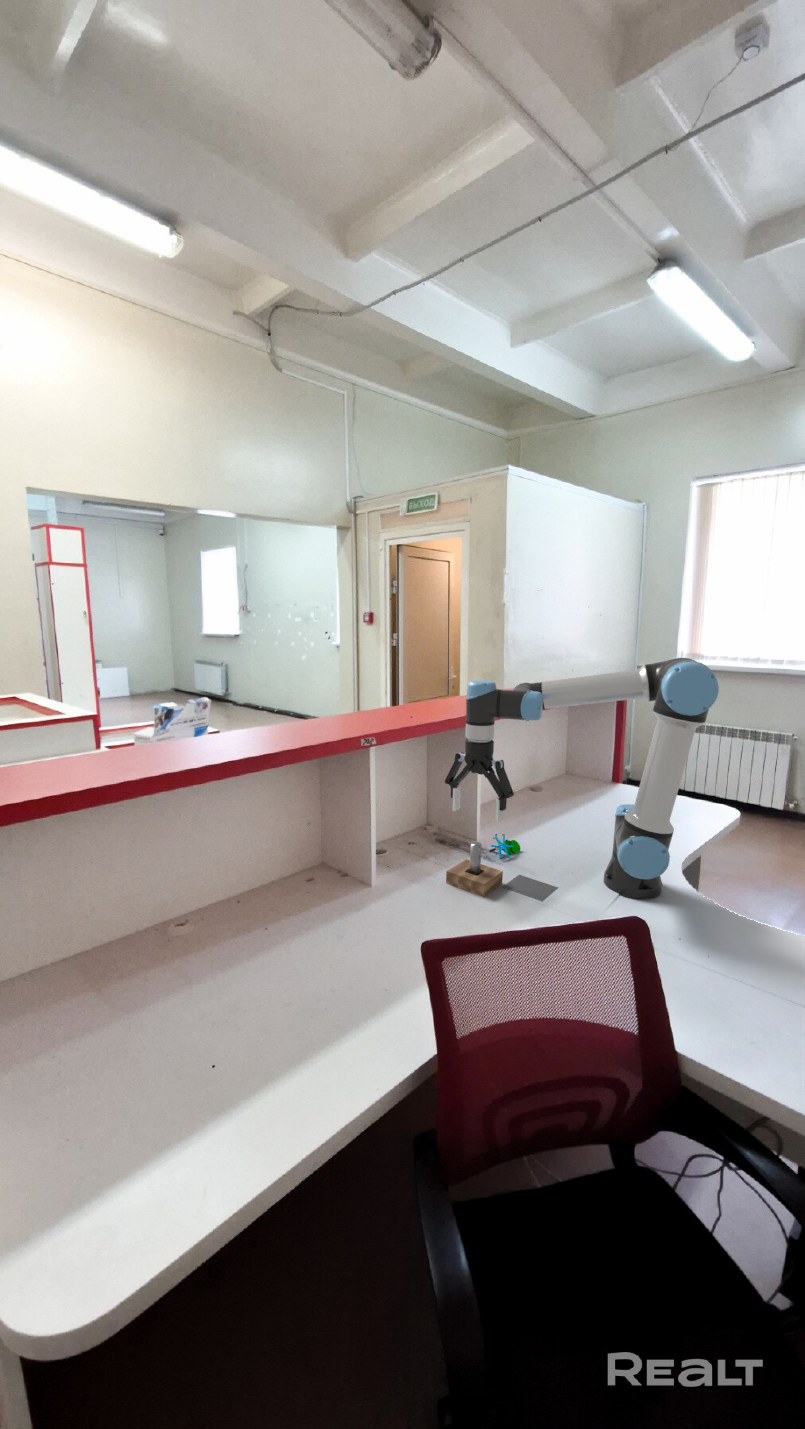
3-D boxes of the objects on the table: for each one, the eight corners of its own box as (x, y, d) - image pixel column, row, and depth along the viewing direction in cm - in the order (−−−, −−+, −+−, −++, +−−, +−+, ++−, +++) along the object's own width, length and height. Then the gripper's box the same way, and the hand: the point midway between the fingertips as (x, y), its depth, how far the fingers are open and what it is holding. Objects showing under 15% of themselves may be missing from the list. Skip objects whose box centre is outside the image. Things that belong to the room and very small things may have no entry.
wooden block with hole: (502, 884, 162) (502, 871, 162) (483, 898, 155) (483, 884, 154) (465, 872, 170) (466, 859, 169) (446, 884, 162) (446, 870, 162)
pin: (481, 884, 163) (483, 843, 160) (476, 888, 160) (477, 847, 158) (472, 881, 164) (474, 840, 162) (466, 884, 162) (468, 844, 160)
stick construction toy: (498, 856, 175) (493, 831, 179) (482, 863, 180) (478, 838, 184) (525, 858, 182) (520, 834, 186) (509, 864, 187) (504, 840, 191)
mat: (558, 888, 161) (558, 887, 160) (542, 902, 153) (542, 901, 153) (519, 875, 168) (519, 874, 168) (501, 888, 160) (501, 887, 160)
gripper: (529, 743, 150) (525, 822, 154) (448, 730, 165) (447, 801, 169) (514, 749, 144) (511, 830, 148) (433, 734, 160) (431, 808, 163)
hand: (477, 815), depth 159 cm, fingers open, 13 cm apart
